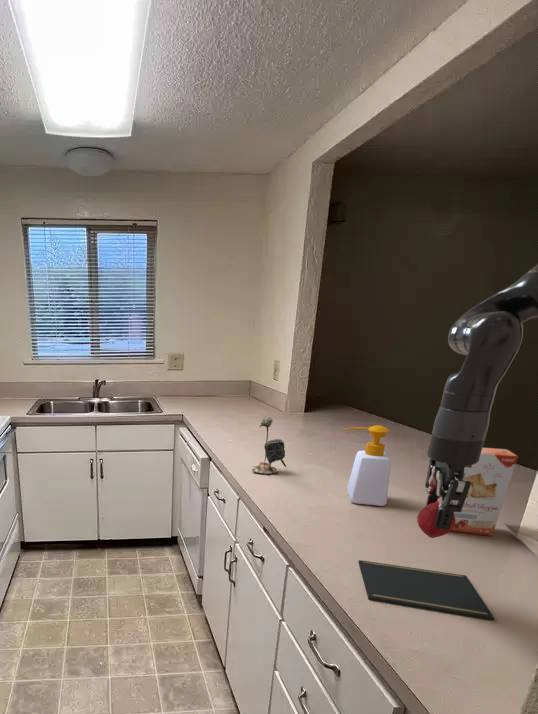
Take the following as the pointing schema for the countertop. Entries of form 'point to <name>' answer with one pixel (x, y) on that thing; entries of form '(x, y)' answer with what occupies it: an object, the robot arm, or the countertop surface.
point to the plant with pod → (270, 451)
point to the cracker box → (485, 491)
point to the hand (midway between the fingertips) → (436, 520)
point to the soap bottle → (370, 471)
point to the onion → (432, 521)
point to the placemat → (423, 589)
